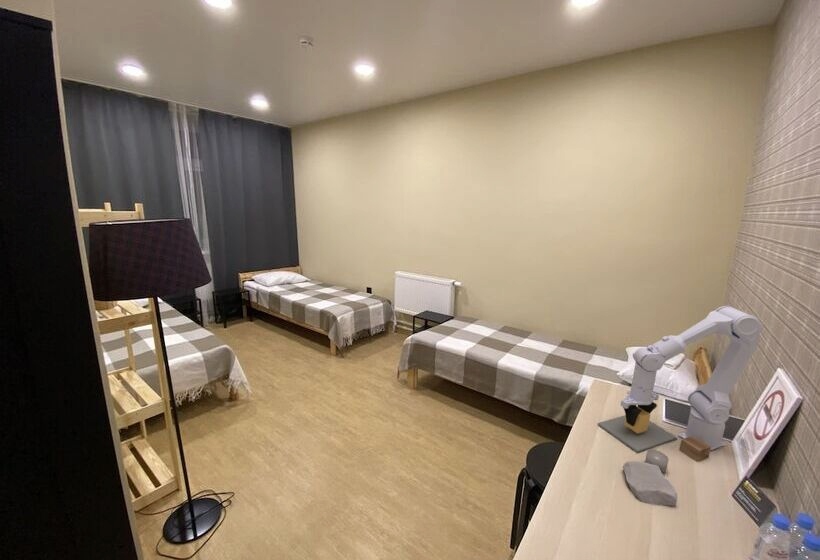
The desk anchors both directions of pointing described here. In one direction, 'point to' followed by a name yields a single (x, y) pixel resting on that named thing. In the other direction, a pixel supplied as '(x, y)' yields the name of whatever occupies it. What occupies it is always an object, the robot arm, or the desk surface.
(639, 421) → the ochre block
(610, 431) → the slate mat
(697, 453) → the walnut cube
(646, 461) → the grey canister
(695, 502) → the desk surface
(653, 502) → the stone block
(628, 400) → the robot arm
